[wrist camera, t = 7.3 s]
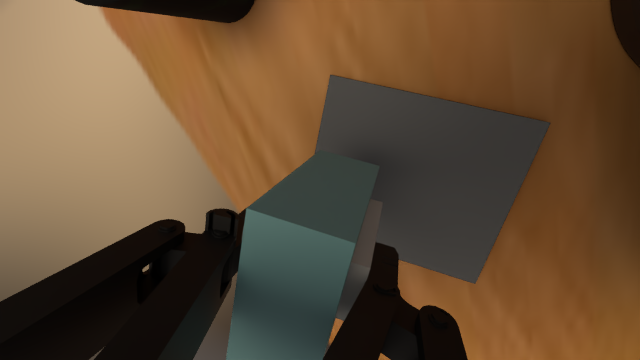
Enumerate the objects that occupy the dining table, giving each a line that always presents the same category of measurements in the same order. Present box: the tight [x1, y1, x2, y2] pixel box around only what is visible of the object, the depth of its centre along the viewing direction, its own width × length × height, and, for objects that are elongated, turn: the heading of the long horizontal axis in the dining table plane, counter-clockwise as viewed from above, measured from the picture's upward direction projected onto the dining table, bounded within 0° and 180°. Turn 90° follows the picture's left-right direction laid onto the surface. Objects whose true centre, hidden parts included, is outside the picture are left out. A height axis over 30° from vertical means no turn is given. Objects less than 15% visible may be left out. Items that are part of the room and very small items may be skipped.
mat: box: [315, 75, 550, 284], centre depth 25 cm, size 14×16×1 cm
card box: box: [226, 150, 380, 360], centre depth 15 cm, size 4×7×9 cm, turn 168°
